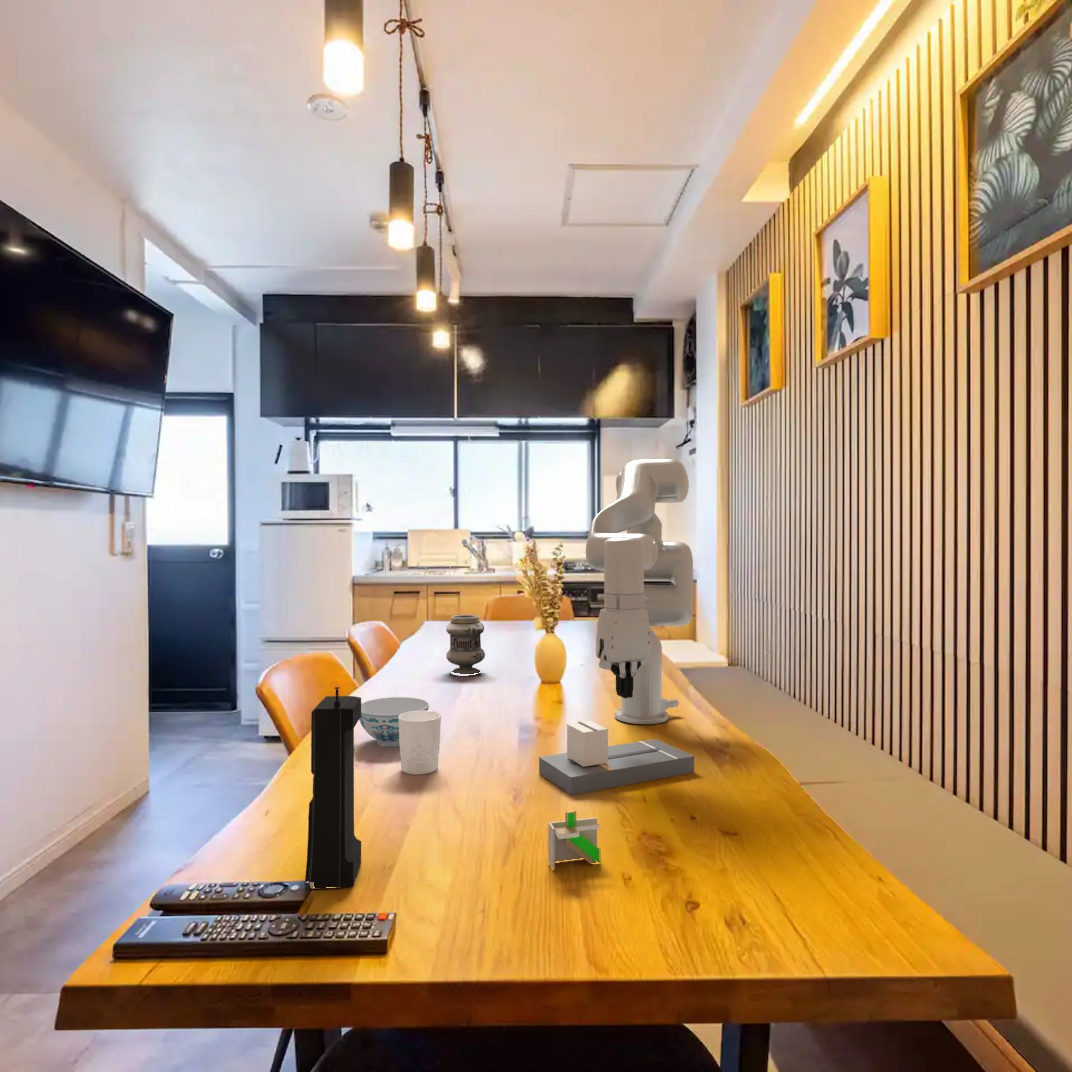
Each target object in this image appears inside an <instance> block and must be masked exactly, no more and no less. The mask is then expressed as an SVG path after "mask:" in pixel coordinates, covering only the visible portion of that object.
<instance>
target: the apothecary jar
mask: <svg viewBox="0 0 1072 1072" xmlns="http://www.w3.org/2000/svg"><path fill="white" fill-rule="evenodd" d="M445 631H446V633H447V634H448V635H449V643H450V644H449V645H450V646H449V650H448V651H447V652H446V653H445V654H446V655H445V657H446V660H447V661H448V662H449V663H451V664H452V665H456V666H459V667H456V668H454V669H453V671H452V670H451V671H452V672H454V673H460V674H474V673H479V672H480V671H481V670H480V669H478V668H476V667H473V666H474V665H476V664H479V663H481V662H482V661H483V660H484V659H485V656H486V653H485V650H484V649H483V648H482V644H481V642H482V641H481V634H483V632H484V631H485V626H484V624H483V623H482V622H480V616H479V615H478V614H457V615H456V614H455V615H452V616H451V618H450V622H449V623H448V624H447V625H446V627H445Z"/></svg>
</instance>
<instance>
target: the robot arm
mask: <svg viewBox="0 0 1072 1072" xmlns="http://www.w3.org/2000/svg"><path fill="white" fill-rule="evenodd" d="M615 488H616V500H615V501H614V502H612V503H610V504H608V505H607V506H606V507H604V509H602V510H600V511H599V512H598V513H597V514H596V515H595V516H594V518H593V519H592V521H591V523H590V525H589V530H588V535H587V539H586V544H585V559H586V563H587V564H588V566H589V567H590V568H591V569H593V570H596V571H603V583H604V585H603V591H604V592H603V594H604V596H603V597H604V599H603V600H604V604H603V605H604V608H601V609H600V610H599V614H598V620H597V626H596V635H595V637H596V638H595V655H596V658H598V660H599V664H598V666H599V667H598V668H600V669H603V670H607V671H611V672H612V674H613V675H614V676H615V691H616V695H617V696H619V697H621V698H620V699H621V700H620V701H621V704H620V705H621V707H620V708H618V709H617V710H615V711H614V718H615V719H616V720H618V721H621V722H623V723H627V724H628V723H629V724H634V725H655V724H656V725H657V724H662V723H665V722H667V721H668V720H669V713H668V712H667V710H668V709H669V708H671V709H672V708H677V707H679V700H678V699H677V698H673V699H672V698H671V699H667V698H664V697H663V694H662V693H663V685H662V684H663V676H662V675H663V672H662V671H663V665H662V664H663V663H662V662H663V646H662V642H661V640H660V638H659V637H658V635H657V634H656V632H655V631H654V630H653V629H652V628H651V627H657V626H658V627H683V626H687V625H689V624H690V623H691V621H692V618H693V611H694V560H693V558H694V557H693V551H692V550H691V548H690V546H689V545H688V544H687V543H685V542H680V541H663V537H662V535H663V523H662V521H661V519H660V517H659V516H658V515H657V513H656V512H655V510H656V504H665V503H667V504H668V503H671V504H673V503H674V504H675V503H676V504H677V503H681V502H684V501H685V499H687V496H688V493H689V488H690V485H689V476H688V473H687V469H686V467H685V465H684V464H683V463H682V462H681V461H680V460H677V459H672V458H661V459H660V458H658V459H657V458H655V459H650V458H649V459H635V460H632V461H630V462H628V463H626V464H625V465H624V467H623V468H622V470H621V471H619V473H618V474H617V476H616V479H615ZM624 532H625V533H624ZM645 581H648V582H649V581H650V582H670V583H672V584H673V585H659V584H645V583H644V582H645Z"/></svg>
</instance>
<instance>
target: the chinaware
mask: <svg viewBox="0 0 1072 1072" xmlns="http://www.w3.org/2000/svg"><path fill="white" fill-rule="evenodd" d="M429 709H430V703H429V702H428V701H427V700H425V699H421V698H416V697H408V696H407V697H405V696H404V697H403V696H400V697H399V696H395V697H379V698H375V699H371V700H366V701H364V702H361V717H360V719H359V720H358V722H359V723H360V725H361V726H362V728H363V729H364V731H365V732H366V733H367V734H368V735H369V736H370V737H372V738H373V739H375V740H376V743H377V745H378V746H381V747H382V746H383V747H387V746H393V747H400V745H399V723H398V716H399V715H400V714H402V713H406V712H410V711H429Z"/></svg>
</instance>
